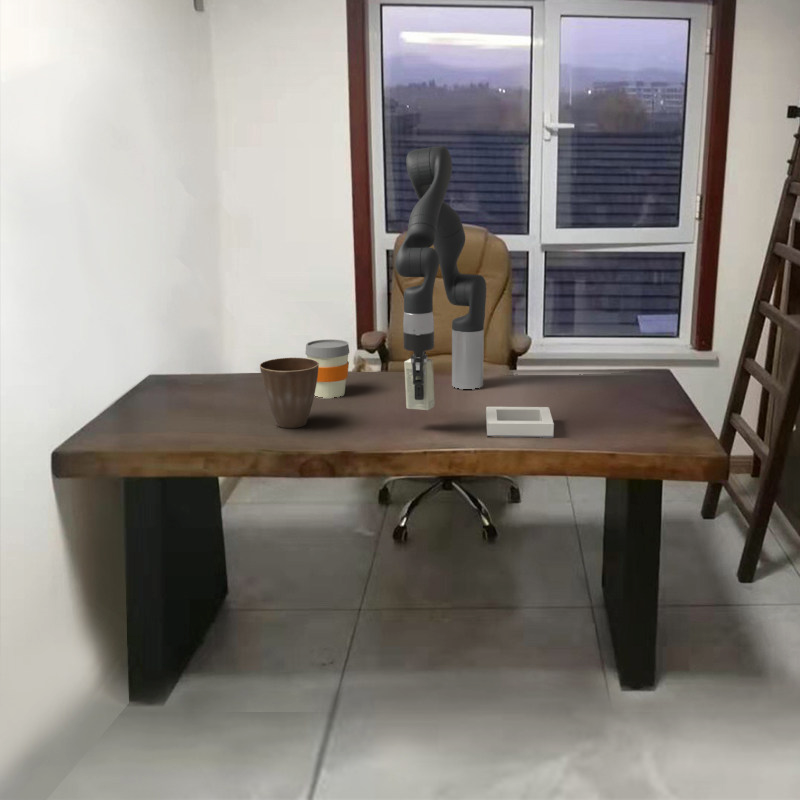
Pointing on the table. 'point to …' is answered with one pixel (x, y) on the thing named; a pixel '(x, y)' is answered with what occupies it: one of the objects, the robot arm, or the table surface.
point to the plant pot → (290, 389)
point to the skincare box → (428, 386)
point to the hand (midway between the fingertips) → (419, 395)
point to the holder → (519, 422)
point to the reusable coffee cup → (330, 366)
